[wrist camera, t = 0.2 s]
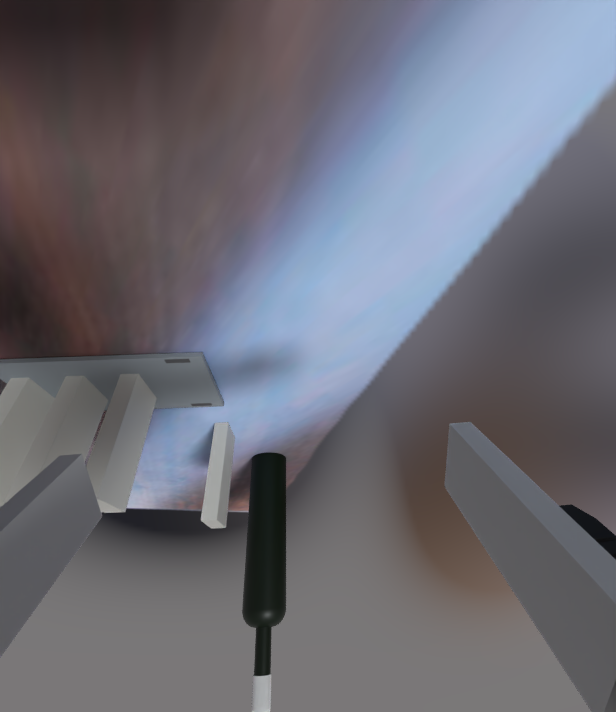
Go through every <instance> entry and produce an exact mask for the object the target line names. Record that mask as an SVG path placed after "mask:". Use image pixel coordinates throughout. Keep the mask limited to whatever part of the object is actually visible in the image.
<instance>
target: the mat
mask: <svg viewBox="0 0 616 712" xmlns="http://www.w3.org/2000/svg"><path fill="white" fill-rule="evenodd" d="M120 374H139V375H140V376H141V378H142V379H143V380H144V382H145V383H146V384H147V386H148V387H149V388H150V390H151V391H152V392H153V394H154V395H155V396H156V398H157V399H156V403H155V406H154V409H162V408H188V407H214V406H224V401H223V399H222V396H221V394H220V392H219V389H218V387H217V385H216V383H215V380H214V378H213V376H212V373H211V371H210V369H209V366H208V364H207V362H206V359H205V357H204V355H203V352H196V353H167V354H138V355H110V356H81V357H52V358H24V359H0V379H1V380H2V381H4V382H5V383H8V382H9V380H10V379H11V378H30V379H31V380H33V381H34V382H35V383H36V384H38V385H39V386H40V387H41V388H43V389H44V390H45V391H46V392H48V393H49V394H50V395H51V396H53V397H54V398H55V397H56V395H57V393H58V391H59V389H60V387H61V385H62V383H63V381H64V379H65V377H66V376H85V377H86V378H87V379H88V380H89V381H90V382H91V383H92V384H93V385H94V386H95V387H96V388H97V389H98V390H99V391H100V392H101V393H102V394H103V395H104V396H105V397H106V398H107V399H108V402H107V404H106V407H105V410H104V411H107V409H108V406H109V404H110V401H111V398H112V396H113V393H114V390H115V388H116V385H117V382H118V380H119V377H120Z"/></svg>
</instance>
